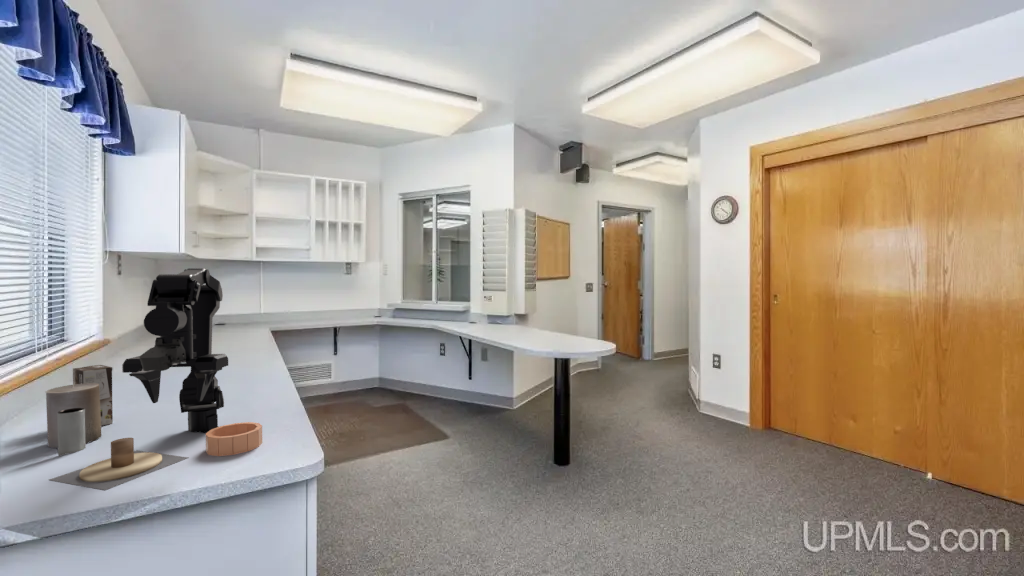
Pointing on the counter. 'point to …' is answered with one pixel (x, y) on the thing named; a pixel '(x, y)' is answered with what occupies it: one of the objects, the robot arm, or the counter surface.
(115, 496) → the counter surface
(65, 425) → the planter
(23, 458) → the counter surface
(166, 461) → the mat
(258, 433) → the bowl
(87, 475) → the lid
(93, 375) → the coffee box
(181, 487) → the counter surface
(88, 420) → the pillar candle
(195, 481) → the counter surface
